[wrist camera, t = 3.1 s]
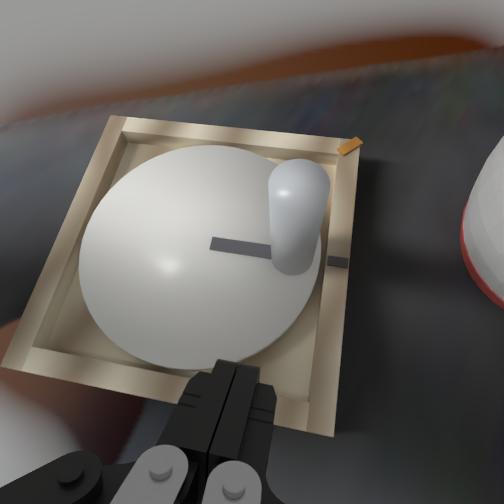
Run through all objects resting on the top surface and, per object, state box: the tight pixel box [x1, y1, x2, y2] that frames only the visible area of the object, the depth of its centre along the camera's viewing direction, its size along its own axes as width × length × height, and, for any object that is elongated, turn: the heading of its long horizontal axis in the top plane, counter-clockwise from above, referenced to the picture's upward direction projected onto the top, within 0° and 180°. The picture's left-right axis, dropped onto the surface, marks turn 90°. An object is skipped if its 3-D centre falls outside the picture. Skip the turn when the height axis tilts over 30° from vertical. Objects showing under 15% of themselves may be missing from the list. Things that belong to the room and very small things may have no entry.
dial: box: [79, 145, 330, 371], centre depth 23 cm, size 18×18×10 cm
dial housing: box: [0, 115, 363, 437], centre depth 28 cm, size 22×22×3 cm
